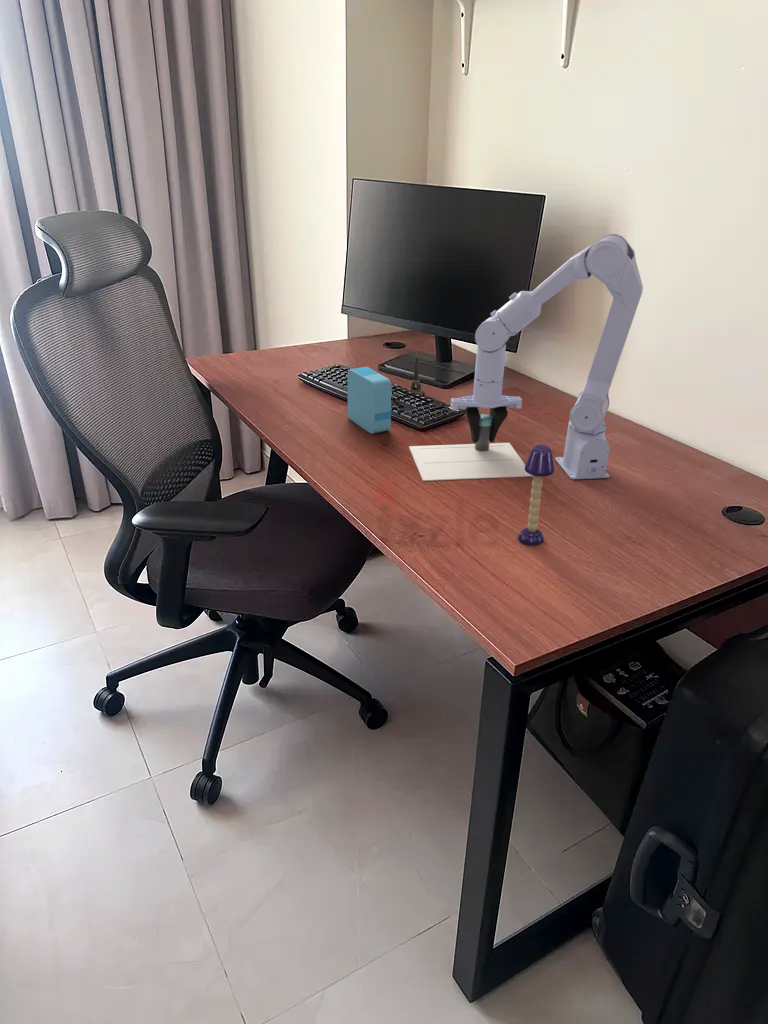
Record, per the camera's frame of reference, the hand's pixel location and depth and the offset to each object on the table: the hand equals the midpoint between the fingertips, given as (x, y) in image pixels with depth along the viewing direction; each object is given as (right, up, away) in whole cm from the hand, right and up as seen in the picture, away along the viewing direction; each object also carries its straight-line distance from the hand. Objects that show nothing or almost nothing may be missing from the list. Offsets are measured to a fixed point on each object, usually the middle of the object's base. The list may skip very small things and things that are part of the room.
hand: (482, 440), depth 154 cm
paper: (-3, -5, -4) cm, 7 cm away
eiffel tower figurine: (-14, +12, +27) cm, 32 cm away
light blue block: (-24, +4, +12) cm, 27 cm away
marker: (0, -2, +1) cm, 2 cm away
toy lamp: (+4, -20, -30) cm, 36 cm away
